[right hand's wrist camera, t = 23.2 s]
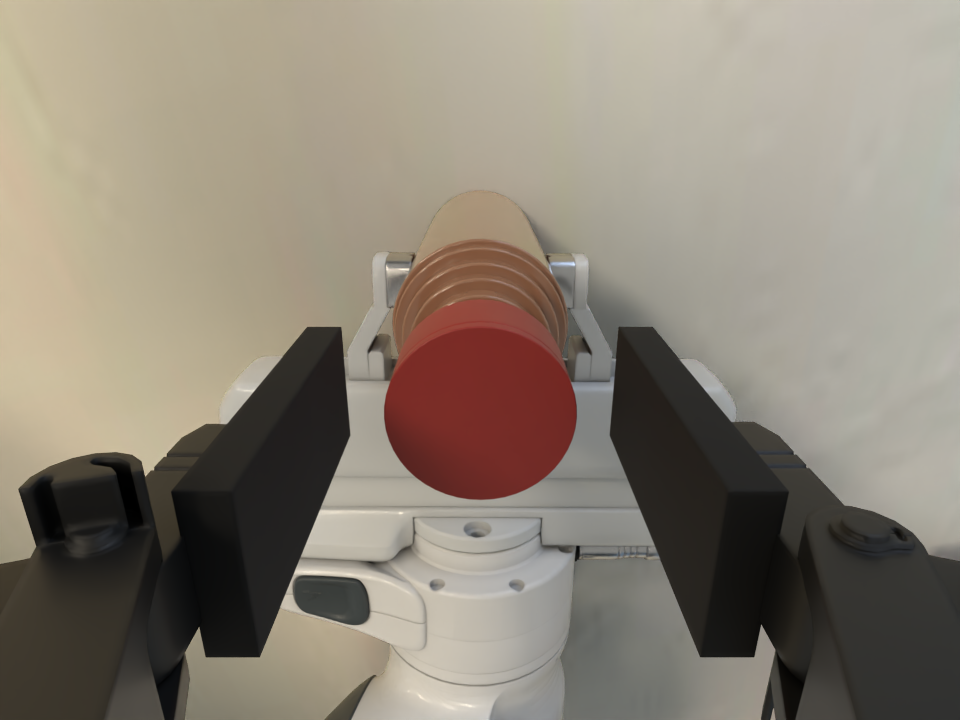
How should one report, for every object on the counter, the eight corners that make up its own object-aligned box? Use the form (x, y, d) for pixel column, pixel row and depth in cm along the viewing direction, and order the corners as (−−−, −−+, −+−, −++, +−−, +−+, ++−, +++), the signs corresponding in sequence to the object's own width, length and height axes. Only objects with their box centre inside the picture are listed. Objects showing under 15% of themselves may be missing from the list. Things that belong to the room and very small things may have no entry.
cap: (556, 287, 14) (568, 314, 12) (571, 443, 15) (584, 489, 13) (381, 310, 14) (365, 340, 12) (412, 462, 15) (402, 510, 13)
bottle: (493, 167, 28) (511, 233, 12) (554, 257, 30) (644, 426, 14) (405, 233, 29) (310, 376, 13) (468, 317, 31) (455, 539, 15)
